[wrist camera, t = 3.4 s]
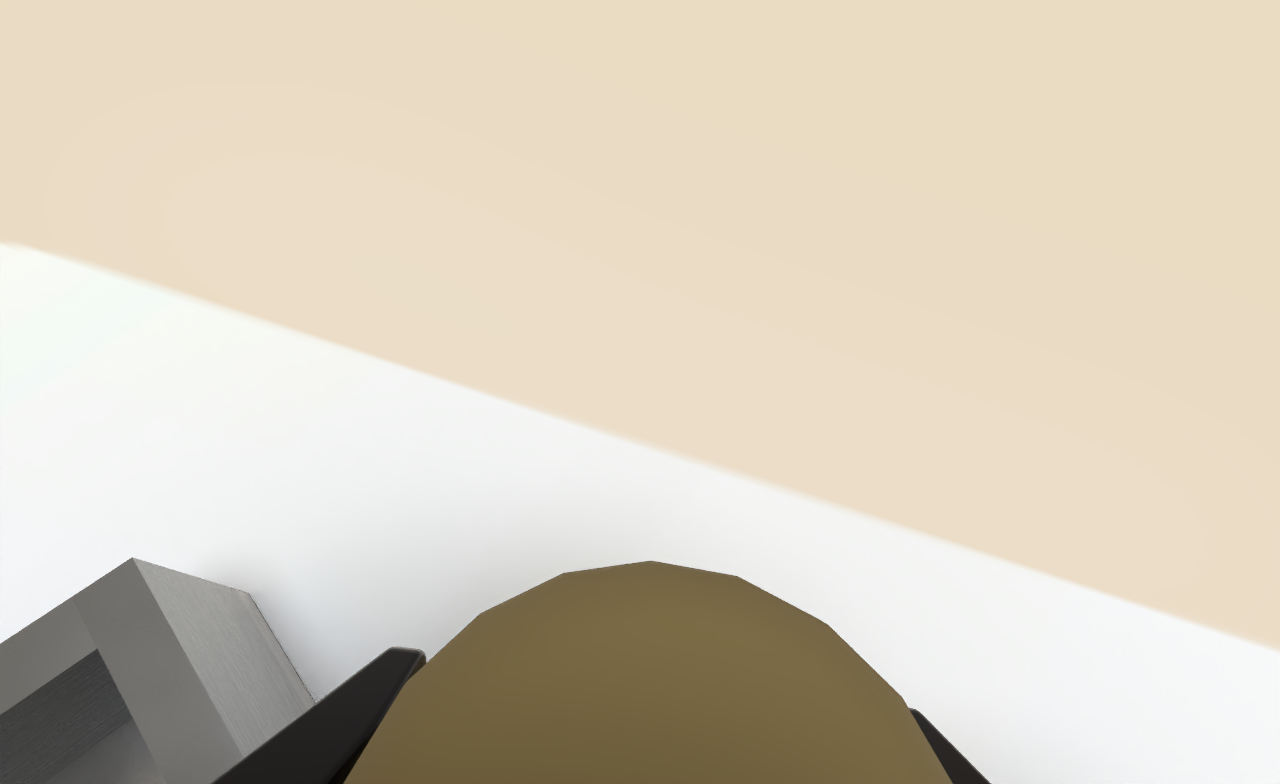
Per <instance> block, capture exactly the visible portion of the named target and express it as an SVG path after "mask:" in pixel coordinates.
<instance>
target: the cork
mask: <svg viewBox="0 0 1280 784" xmlns="http://www.w3.org/2000/svg"><path fill="white" fill-rule="evenodd" d="M343 784H953V783H952V782H951V780H950V778H949V776H948V775H947V773H946V771H945V770H944V768H943V766H942V764H941V763H940V761H939V759H938V758H937V756H936V754H935V753H934V751H933V749H932V747H931V746H930V744H929V742H928V741H927V739H926V737H925V736H924V734H923V732H922V730H921V729H920V727H919V725H918V724H917V722H916V720H915V718H914V717H913V715H912V713H911V712H910V710H909V708H908V707H907V705H906V703H905V701H904V700H903V698H902V697H901V696H900V695H899V694H898V693H897V692H896V691H895V690H894V689H893V688H892V687H891V686H890V685H889V684H888V683H887V682H886V681H885V680H884V679H883V678H882V677H881V676H880V675H879V674H878V673H877V672H876V671H875V670H874V669H873V668H872V667H871V666H870V665H869V664H868V663H867V662H865V661H864V660H863V659H862V658H861V657H860V656H859V655H858V654H857V653H856V652H855V651H854V650H853V649H852V648H851V647H850V646H849V645H848V644H847V643H846V642H845V641H844V640H843V639H842V638H841V637H840V636H839V635H838V634H837V633H836V632H835V631H834V630H833V629H832V628H831V627H830V626H829V625H827V624H826V623H824V622H822V621H821V620H819V619H817V618H815V617H813V616H812V615H810V614H808V613H806V612H804V611H802V610H800V609H798V608H796V607H795V606H793V605H791V604H789V603H787V602H785V601H783V600H781V599H779V598H777V597H776V596H774V595H772V594H770V593H768V592H766V591H764V590H762V589H760V588H759V587H757V586H755V585H753V584H751V583H749V582H747V581H745V580H743V579H742V578H740V577H738V576H733V575H728V574H722V573H716V572H711V571H705V570H700V569H694V568H689V567H683V566H677V565H672V564H666V563H661V562H655V561H646V562H639V563H632V564H624V565H617V566H610V567H603V568H596V569H589V570H582V571H575V572H568V573H563V574H561V575H559V576H557V577H555V578H553V579H551V580H548V581H546V582H544V583H542V584H540V585H538V586H536V587H534V588H532V589H530V590H528V591H526V592H524V593H522V594H520V595H518V596H516V597H514V598H511V599H509V600H507V601H505V602H503V603H501V604H499V605H497V606H495V607H493V608H491V609H489V610H487V611H485V612H483V613H481V614H479V615H478V616H477V617H476V618H475V619H474V620H473V621H472V622H471V623H470V624H469V625H467V626H466V627H465V628H464V629H463V630H462V631H461V632H460V633H459V634H458V635H457V636H456V637H454V638H453V639H452V640H451V641H450V642H449V643H448V644H447V645H446V646H445V647H444V648H443V649H441V650H440V651H439V652H438V653H437V654H436V655H435V656H434V657H433V658H432V659H431V660H430V661H429V662H427V663H426V664H425V665H424V666H423V667H422V668H421V669H420V670H419V671H418V672H417V673H416V674H414V675H413V676H412V677H411V678H410V679H409V680H408V681H407V682H406V683H405V685H404V686H403V688H402V689H401V691H400V692H399V694H398V695H397V697H396V699H395V700H394V702H393V704H392V705H391V707H390V708H389V710H388V712H387V713H386V715H385V717H384V718H383V720H382V721H381V723H380V725H379V726H378V728H377V730H376V731H375V733H374V734H373V736H372V738H371V739H370V741H369V743H368V744H367V746H366V747H365V749H364V751H363V752H362V754H361V756H360V757H359V759H358V760H357V762H356V764H355V765H354V767H353V769H352V770H351V772H350V773H349V775H348V777H347V778H346V780H345V782H344V783H343Z"/></svg>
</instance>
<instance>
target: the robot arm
mask: <svg viewBox="0 0 1280 784" xmlns="http://www.w3.org/2000/svg"><path fill="white" fill-rule="evenodd" d="M425 664H426V656H425V653H424V652H423V651H422V650H419V649H412V648H403V647H392V648H389V649H387V650H386V651H385V652H383V653H382V654H381V655H379V656H378V657H377V658H375V659H374V660H373V661H371V662H370V663H369V664H367V665H366V666H365V667H363V668H362V669H361V670H359V671H358V672H357V673H356V674H354V675H353V676H352V677H350V678H349V679H348V680H346V681H345V682H344V683H342V684H341V685H340V686H338V687H337V688H336V689H334V690H333V691H332V692H330V693H329V694H328V695H326V696H325V697H324V698H322V699H321V700H320V701H319V702H317V703H316V704H315V705H313V706H312V707H311V708H309V709H308V710H307V711H305V712H304V713H303V714H301V715H300V716H299V717H297V718H296V719H295V720H293V721H292V722H291V723H289V724H288V725H287V726H285V727H284V728H283V729H282V730H280V731H279V732H278V733H276V734H275V735H274V736H272V737H271V738H270V739H268V740H267V741H266V742H264V743H263V744H262V745H260V746H259V747H258V748H256V749H255V750H254V751H252V752H251V753H250V754H248V755H247V756H246V757H245V758H243V759H242V760H241V761H239V762H238V763H237V764H235V765H234V766H233V767H231V768H230V769H229V770H227V771H226V772H225V773H223V774H222V775H221V776H219V777H218V778H217V779H215V780H214V781H213V782H211V783H210V784H343V783H344V782H345V780H346V778H347V777H348V775H349V773H350V772H351V770H352V769H353V767H354V765H355V764H356V762H357V760H358V759H359V757H360V756H361V754H362V752H363V751H364V749H365V747H366V746H367V744H368V743H369V741H370V739H371V738H372V736H373V734H374V733H375V731H376V730H377V728H378V726H379V725H380V723H381V721H382V720H383V718H384V717H385V715H386V713H387V712H388V710H389V708H390V707H391V705H392V704H393V702H394V700H395V699H396V697H397V695H398V694H399V692H400V691H401V689H402V688H403V686H404V685H405V683H406V682H407V681H408V680H409V679H410V678H411V677H412V676H413V675H414V674H416V673H417V672H418V671H419V670H420V669H421V668H422V667H423V666H424V665H425ZM909 710H910V712H911V713H912V715H913V717H914V718H915V720H916V722H917V724H918V725H919V727H920V729H921V730H922V732H923V734H924V736H925V737H926V739H927V741H928V742H929V744H930V746H931V747H932V749H933V751H934V753H935V754H936V756H937V758H938V759H939V761H940V763H941V764H942V766H943V768H944V770H945V771H946V773H947V775H948V776H949V778H950V780H951V782H952V783H953V784H991V783H990V782H989V781H988V780H987V779H986V778H985V777H984V776H983V775H982V774H981V773H980V772H979V771H978V770H977V769H976V768H975V767H974V766H973V765H972V764H971V763H970V762H969V761H968V760H967V759H966V758H965V757H964V756H963V755H962V754H961V753H960V752H959V751H958V750H957V749H956V748H955V747H954V746H953V745H952V744H951V743H950V742H949V741H948V740H947V739H946V738H945V737H944V736H943V735H942V734H941V733H940V732H939V731H938V730H937V729H936V728H935V727H934V726H933V725H932V724H931V723H930V722H929V721H928V720H927V719H926V718H925V717H924V716H923V715H922V714H921V713H920V712H919V711H917V710H916V709H913V708H909Z"/></svg>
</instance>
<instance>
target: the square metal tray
mask: <svg viewBox="0 0 1280 784" xmlns="http://www.w3.org/2000/svg"><path fill="white" fill-rule="evenodd" d="M313 705H315V702H314V701H313V699H312V698H311V696H310V694H309V693H308V691H307V689H306V688H305V686H304V684H303V683H302V681H301V679H300V678H299V676H298V674H297V673H296V671H295V669H294V668H293V666H292V664H291V663H290V661H289V659H288V658H287V656H286V654H285V653H284V651H283V650H282V648H281V646H280V645H279V643H278V641H277V640H276V638H275V636H274V635H273V633H272V631H271V630H270V628H269V626H268V625H267V623H266V621H265V620H264V618H263V616H262V615H261V613H260V611H259V610H258V608H257V606H256V605H255V603H254V602H253V600H252V598H251V597H250V595H249V593H246V592H243V591H240V590H236V589H233V588H230V587H227V586H223V585H220V584H217V583H214V582H210V581H207V580H204V579H201V578H197V577H194V576H191V575H188V574H184V573H181V572H178V571H175V570H171V569H168V568H165V567H162V566H158V565H155V564H152V563H149V562H145V561H142V560H139V559H136V558H131V559H129V560H127V561H126V562H124V563H123V564H121V565H120V566H118V567H117V568H115V569H114V570H112V571H111V572H109V573H108V574H106V575H105V576H103V577H102V578H100V579H98V580H97V581H95V582H94V583H92V584H91V585H89V586H88V587H86V588H85V589H83V590H82V591H80V592H79V593H77V594H76V595H74V596H73V597H71V598H70V599H68V600H66V601H65V602H63V603H62V604H60V605H59V606H57V607H56V608H54V609H53V610H51V611H50V612H48V613H47V614H45V615H44V616H42V617H41V618H39V619H37V620H36V621H34V622H33V623H31V624H30V625H28V626H27V627H25V628H24V629H22V630H21V631H19V632H18V633H16V634H15V635H13V636H12V637H10V638H8V639H7V640H5V641H4V642H2V643H1V644H0V784H210V783H211V782H213V781H214V780H215V779H217V778H218V777H219V776H221V775H222V774H223V773H225V772H226V771H227V770H229V769H230V768H231V767H233V766H234V765H235V764H237V763H238V762H239V761H241V760H242V759H243V758H245V757H246V756H247V755H248V754H250V753H251V752H252V751H254V750H255V749H256V748H258V747H259V746H260V745H262V744H263V743H264V742H266V741H267V740H268V739H270V738H271V737H272V736H274V735H275V734H276V733H278V732H279V731H280V730H282V729H283V728H284V727H285V726H287V725H288V724H289V723H291V722H292V721H293V720H295V719H296V718H297V717H299V716H300V715H301V714H303V713H304V712H305V711H307V710H308V709H309V708H311V707H312V706H313Z"/></svg>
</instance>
